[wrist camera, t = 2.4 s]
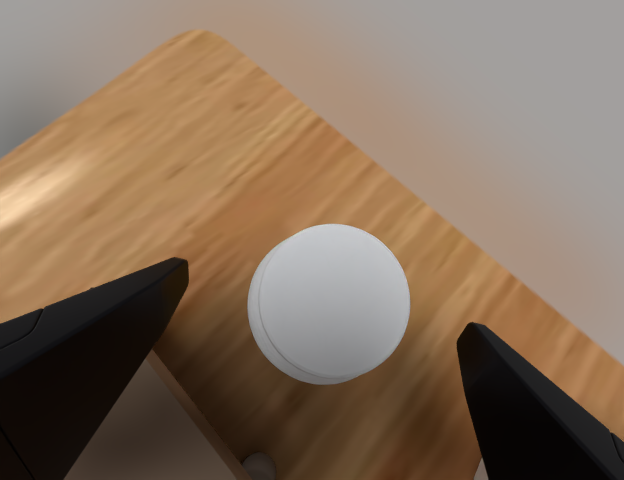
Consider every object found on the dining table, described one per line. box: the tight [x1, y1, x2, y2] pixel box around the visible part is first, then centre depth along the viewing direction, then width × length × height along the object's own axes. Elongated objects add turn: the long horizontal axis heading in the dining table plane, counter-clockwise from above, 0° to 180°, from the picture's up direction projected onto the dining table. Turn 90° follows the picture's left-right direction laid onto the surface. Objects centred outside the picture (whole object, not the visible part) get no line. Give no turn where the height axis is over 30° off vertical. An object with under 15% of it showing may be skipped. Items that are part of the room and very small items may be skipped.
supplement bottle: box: [247, 224, 410, 385], centre depth 12 cm, size 5×5×10 cm
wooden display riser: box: [64, 288, 276, 480], centre depth 12 cm, size 12×10×4 cm
